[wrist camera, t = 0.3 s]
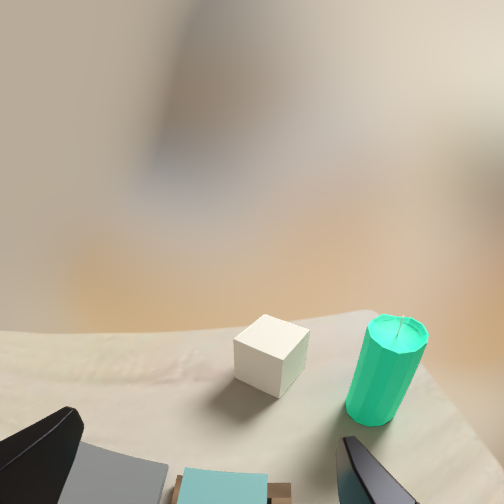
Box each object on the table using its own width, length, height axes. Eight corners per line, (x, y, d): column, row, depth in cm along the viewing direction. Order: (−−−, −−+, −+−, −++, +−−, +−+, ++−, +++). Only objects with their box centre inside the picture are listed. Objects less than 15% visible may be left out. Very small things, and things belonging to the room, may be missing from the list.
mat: (141, 575, 9) (139, 575, 9) (29, 524, 10) (26, 523, 9) (168, 466, 20) (167, 464, 20) (69, 439, 21) (67, 436, 21)
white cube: (304, 368, 34) (310, 329, 32) (279, 399, 29) (283, 360, 27) (262, 351, 37) (264, 313, 35) (234, 377, 32) (233, 338, 30)
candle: (405, 403, 26) (442, 315, 22) (377, 435, 23) (419, 346, 19) (365, 380, 31) (389, 292, 26) (333, 407, 27) (357, 316, 23)
